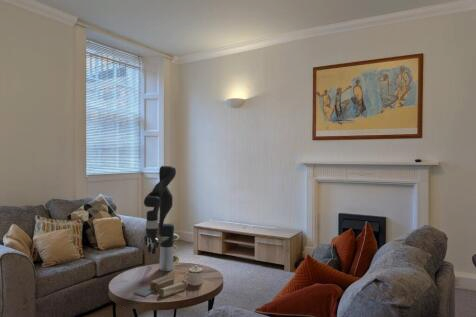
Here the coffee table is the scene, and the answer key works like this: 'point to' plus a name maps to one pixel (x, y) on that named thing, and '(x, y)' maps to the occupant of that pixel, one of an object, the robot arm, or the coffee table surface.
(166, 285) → the tan rectangular block
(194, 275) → the teacup with lid
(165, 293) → the cream long bar
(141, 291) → the slate coaster
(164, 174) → the robot arm
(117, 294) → the coffee table surface
